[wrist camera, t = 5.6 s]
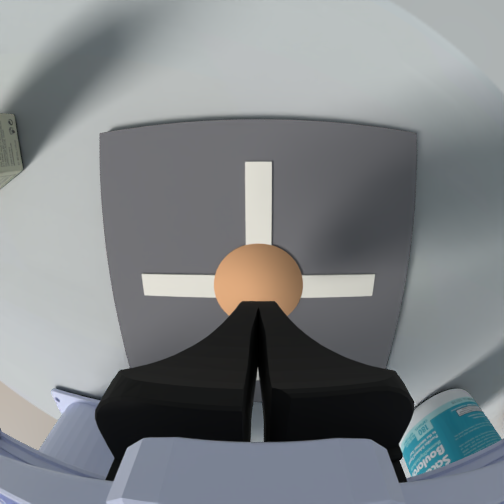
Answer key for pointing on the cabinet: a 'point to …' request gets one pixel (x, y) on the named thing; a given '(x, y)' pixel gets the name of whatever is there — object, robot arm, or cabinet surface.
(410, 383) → the cabinet surface
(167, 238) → the rest pad
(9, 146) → the skincare box
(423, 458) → the pill bottle
